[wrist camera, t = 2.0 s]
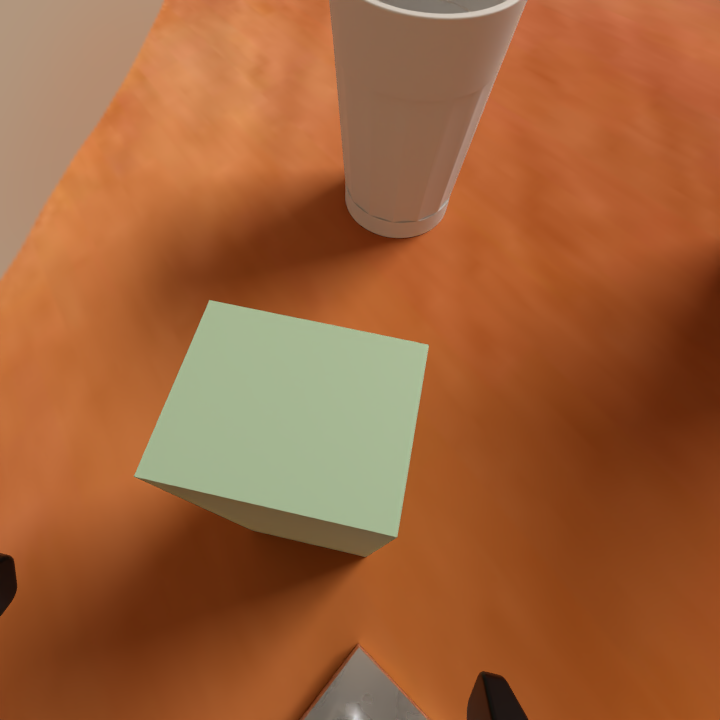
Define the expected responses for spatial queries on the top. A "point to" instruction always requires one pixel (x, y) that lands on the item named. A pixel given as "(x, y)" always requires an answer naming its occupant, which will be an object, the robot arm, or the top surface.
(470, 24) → the cup
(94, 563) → the top surface
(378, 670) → the plate
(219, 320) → the pale green block
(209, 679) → the top surface
